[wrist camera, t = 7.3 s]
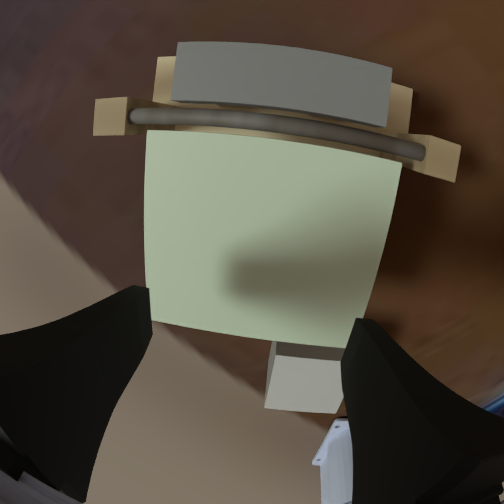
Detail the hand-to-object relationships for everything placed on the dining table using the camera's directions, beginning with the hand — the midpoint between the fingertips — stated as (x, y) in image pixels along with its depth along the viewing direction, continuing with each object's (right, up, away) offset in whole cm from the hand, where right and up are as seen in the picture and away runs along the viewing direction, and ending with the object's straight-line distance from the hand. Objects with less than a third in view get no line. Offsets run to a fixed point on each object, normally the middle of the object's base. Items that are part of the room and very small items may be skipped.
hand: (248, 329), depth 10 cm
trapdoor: (+1, +5, +2) cm, 5 cm away
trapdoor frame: (+2, +11, +6) cm, 13 cm away
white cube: (+4, -5, +10) cm, 12 cm away
